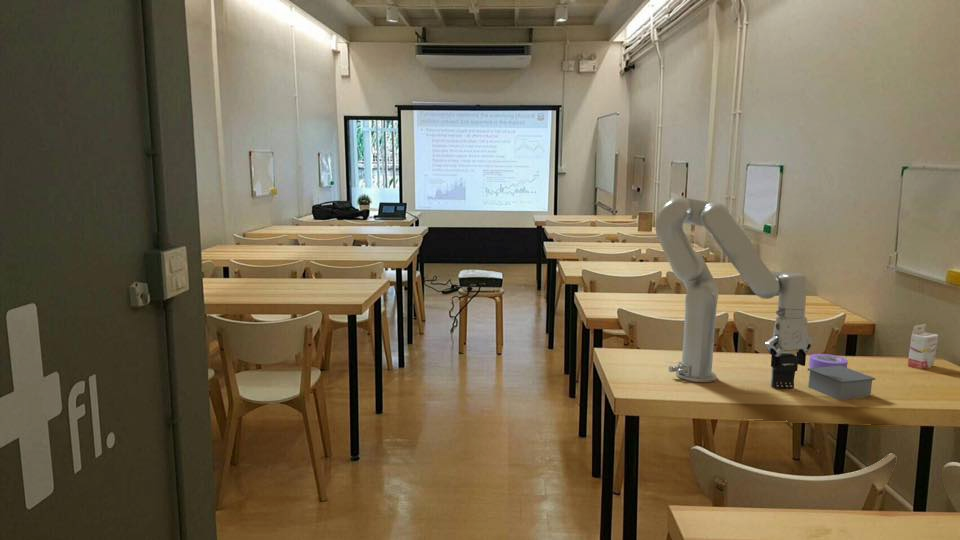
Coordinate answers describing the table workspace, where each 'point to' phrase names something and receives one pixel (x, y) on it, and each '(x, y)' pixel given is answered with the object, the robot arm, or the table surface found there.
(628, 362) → the table surface
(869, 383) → the stand
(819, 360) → the masking tape
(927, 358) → the ink cartridge box
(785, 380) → the battery charger
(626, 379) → the table surface
